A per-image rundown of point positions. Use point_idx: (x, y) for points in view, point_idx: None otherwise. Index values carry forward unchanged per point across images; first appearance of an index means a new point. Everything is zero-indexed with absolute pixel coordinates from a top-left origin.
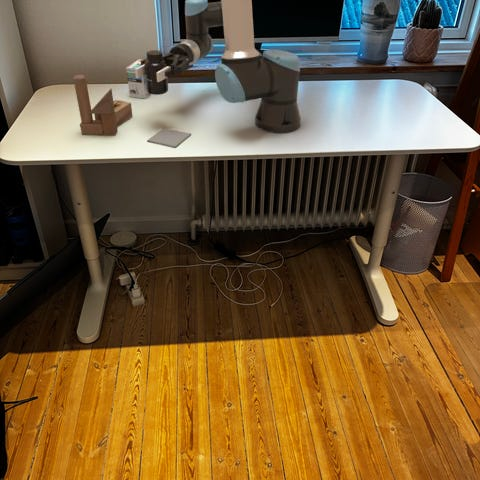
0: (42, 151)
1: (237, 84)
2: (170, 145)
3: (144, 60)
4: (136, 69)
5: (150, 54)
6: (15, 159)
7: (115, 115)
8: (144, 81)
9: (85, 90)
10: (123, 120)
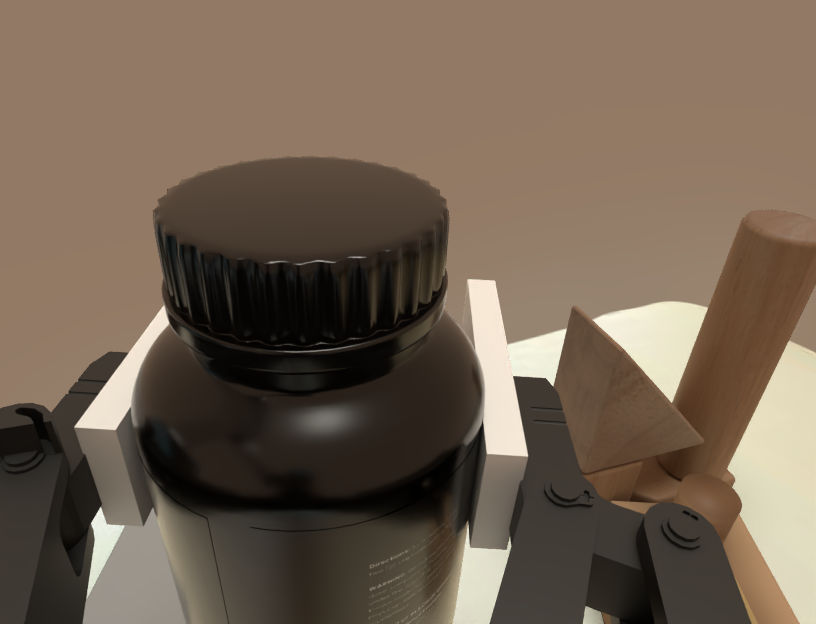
0: (652, 347)
1: None
2: None
3: (693, 580)
4: (475, 281)
5: (327, 158)
6: (665, 304)
7: None
8: None
9: (715, 294)
10: None
